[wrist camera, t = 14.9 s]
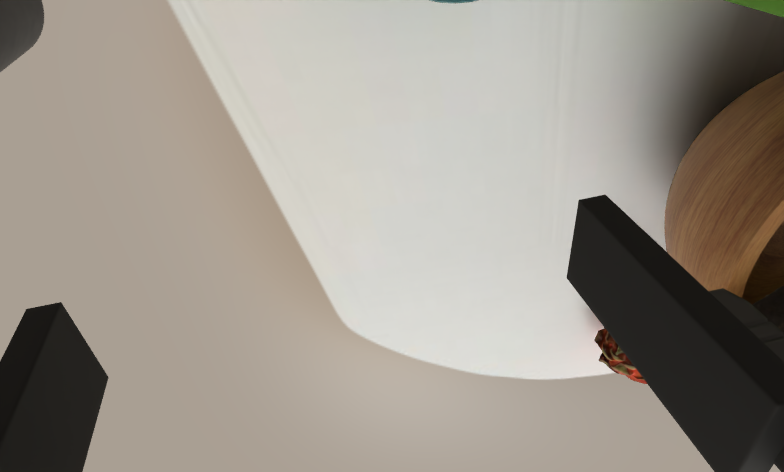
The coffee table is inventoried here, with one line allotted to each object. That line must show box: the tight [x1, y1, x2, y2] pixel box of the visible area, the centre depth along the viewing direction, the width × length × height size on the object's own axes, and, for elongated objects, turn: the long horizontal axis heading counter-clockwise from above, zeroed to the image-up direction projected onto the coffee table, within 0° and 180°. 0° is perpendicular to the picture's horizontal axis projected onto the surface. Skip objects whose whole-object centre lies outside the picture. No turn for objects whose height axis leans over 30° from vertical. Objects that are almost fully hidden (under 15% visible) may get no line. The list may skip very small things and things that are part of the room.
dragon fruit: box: [595, 329, 647, 384], centre depth 57 cm, size 8×8×12 cm
